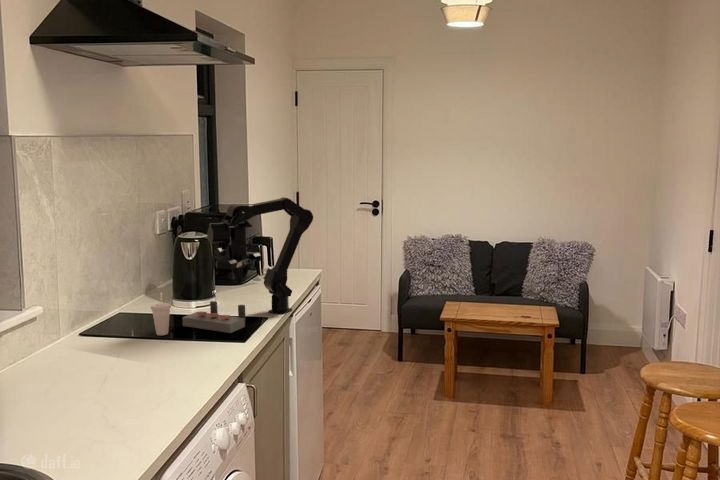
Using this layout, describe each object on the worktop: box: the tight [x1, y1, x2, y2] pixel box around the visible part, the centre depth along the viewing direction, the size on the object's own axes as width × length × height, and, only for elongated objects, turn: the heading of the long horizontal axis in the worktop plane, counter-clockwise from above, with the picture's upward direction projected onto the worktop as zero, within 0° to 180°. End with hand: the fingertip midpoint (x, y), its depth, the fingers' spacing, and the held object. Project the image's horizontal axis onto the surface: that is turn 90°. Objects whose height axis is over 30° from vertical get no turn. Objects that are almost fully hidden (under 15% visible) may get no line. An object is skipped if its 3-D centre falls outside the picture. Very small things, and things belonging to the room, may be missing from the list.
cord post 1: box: [209, 300, 219, 315], centre depth 251 cm, size 2×2×6 cm
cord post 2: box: [237, 304, 247, 324], centre depth 246 cm, size 2×2×6 cm
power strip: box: [182, 311, 246, 334], centre depth 241 cm, size 8×20×3 cm, turn 63°
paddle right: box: [220, 314, 231, 319], centre depth 239 cm, size 3×2×1 cm
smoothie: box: [150, 291, 172, 336], centre depth 233 cm, size 6×6×14 cm
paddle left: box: [196, 310, 208, 316], centre depth 243 cm, size 3×2×1 cm
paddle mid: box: [208, 312, 219, 317], centre depth 241 cm, size 3×2×1 cm
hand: (240, 284), depth 250 cm, fingers closed
